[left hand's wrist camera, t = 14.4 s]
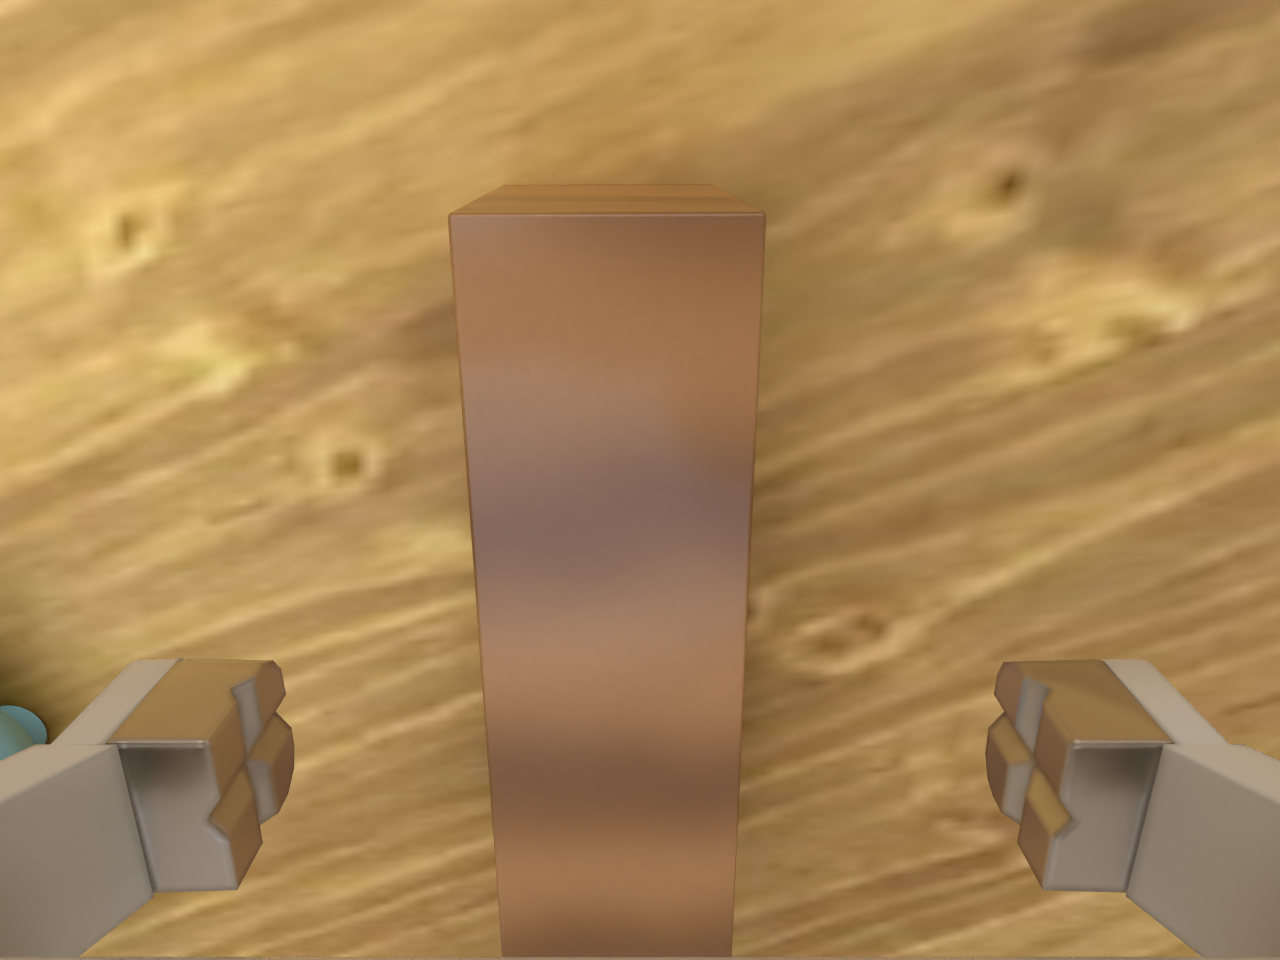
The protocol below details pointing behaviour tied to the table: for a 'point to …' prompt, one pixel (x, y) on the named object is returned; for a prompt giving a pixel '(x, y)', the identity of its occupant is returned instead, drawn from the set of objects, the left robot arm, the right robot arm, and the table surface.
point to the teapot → (19, 730)
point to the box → (611, 552)
